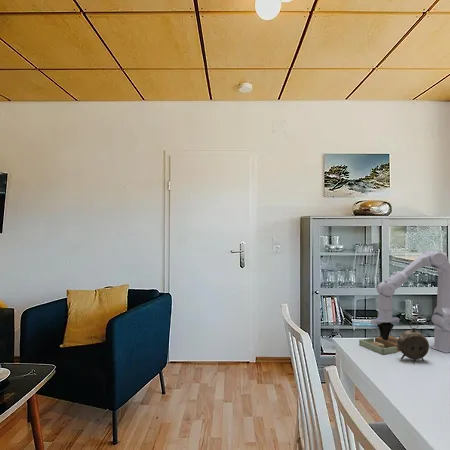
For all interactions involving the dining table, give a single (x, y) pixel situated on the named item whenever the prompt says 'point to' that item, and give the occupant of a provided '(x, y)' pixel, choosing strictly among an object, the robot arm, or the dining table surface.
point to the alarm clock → (413, 344)
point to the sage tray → (376, 347)
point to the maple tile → (377, 344)
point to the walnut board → (388, 342)
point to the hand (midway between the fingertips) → (385, 339)
